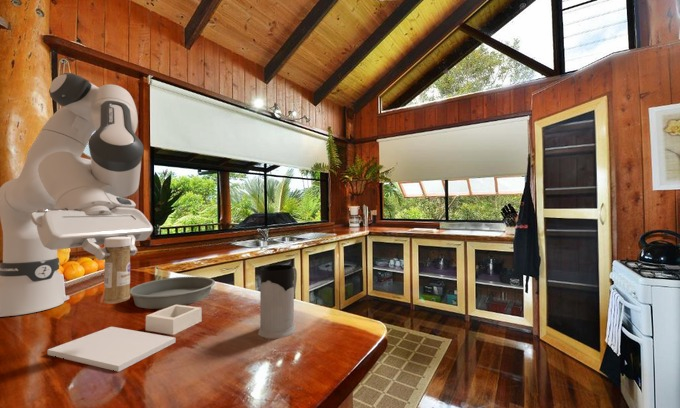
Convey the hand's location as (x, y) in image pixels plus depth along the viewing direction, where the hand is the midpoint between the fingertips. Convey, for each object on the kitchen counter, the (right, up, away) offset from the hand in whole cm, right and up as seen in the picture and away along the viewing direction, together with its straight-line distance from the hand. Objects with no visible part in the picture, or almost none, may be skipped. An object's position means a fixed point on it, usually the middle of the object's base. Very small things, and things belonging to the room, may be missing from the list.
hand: (119, 255), depth 61 cm
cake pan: (-8, -20, +35) cm, 41 cm away
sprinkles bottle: (-1, -10, 0) cm, 10 cm away
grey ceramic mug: (+32, -20, +11) cm, 39 cm away
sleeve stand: (+5, -19, +11) cm, 23 cm away
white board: (-1, -19, -1) cm, 19 cm away
